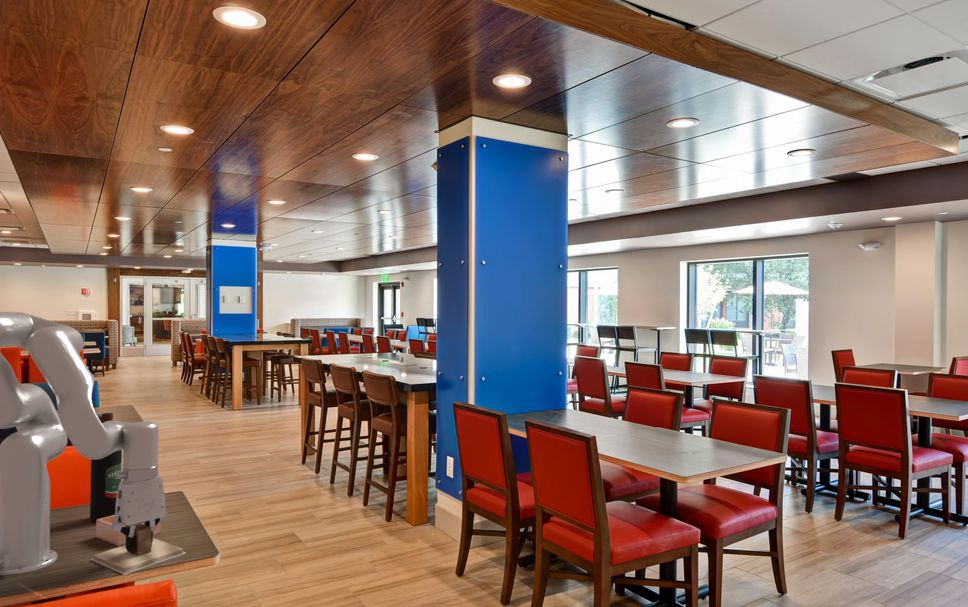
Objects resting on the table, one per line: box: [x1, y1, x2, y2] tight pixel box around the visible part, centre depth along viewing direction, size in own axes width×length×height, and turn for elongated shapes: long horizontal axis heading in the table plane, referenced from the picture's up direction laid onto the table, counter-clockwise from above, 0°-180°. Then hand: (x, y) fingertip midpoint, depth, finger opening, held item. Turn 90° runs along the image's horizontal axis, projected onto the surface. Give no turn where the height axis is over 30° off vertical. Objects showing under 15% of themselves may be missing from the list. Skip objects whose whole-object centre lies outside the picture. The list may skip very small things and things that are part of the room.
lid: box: [93, 523, 184, 573], centre depth 150 cm, size 14×14×7 cm
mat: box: [90, 551, 187, 576], centre depth 150 cm, size 15×15×1 cm
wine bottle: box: [89, 412, 123, 524], centre depth 178 cm, size 8×8×30 cm
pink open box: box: [95, 515, 162, 547], centre depth 164 cm, size 11×11×5 cm
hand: (139, 548), depth 150 cm, fingers closed on lid, 3 cm apart
